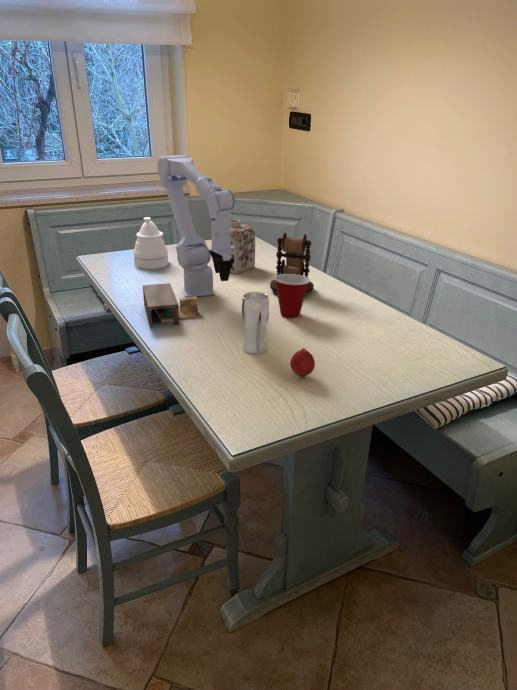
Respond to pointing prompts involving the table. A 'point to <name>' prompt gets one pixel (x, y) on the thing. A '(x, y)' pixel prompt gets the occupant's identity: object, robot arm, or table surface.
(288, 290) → the plastic cup
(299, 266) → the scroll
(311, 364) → the onion
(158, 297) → the wooden caddy
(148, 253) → the honey pot
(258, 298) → the beer glass
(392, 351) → the table surface
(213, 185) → the robot arm
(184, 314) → the tray
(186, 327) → the table surface
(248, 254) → the decorative jar
